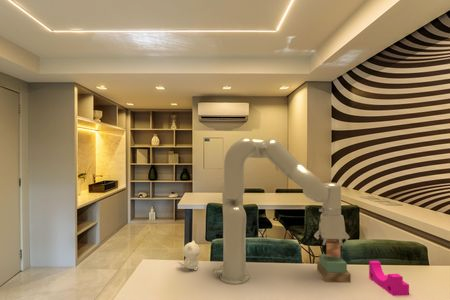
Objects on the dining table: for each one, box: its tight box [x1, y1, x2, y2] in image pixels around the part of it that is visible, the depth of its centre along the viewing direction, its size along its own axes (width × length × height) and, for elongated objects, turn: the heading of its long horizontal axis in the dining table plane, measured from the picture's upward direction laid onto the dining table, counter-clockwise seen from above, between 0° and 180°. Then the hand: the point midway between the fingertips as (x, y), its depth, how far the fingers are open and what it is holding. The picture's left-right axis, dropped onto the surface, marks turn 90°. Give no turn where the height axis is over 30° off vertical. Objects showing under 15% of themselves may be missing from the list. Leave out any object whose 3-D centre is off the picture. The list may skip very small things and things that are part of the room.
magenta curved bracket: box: [368, 260, 410, 297], centre depth 111 cm, size 15×6×8 cm, turn 4°
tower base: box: [316, 261, 351, 283], centre depth 120 cm, size 10×12×4 cm
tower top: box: [318, 253, 348, 273], centre depth 120 cm, size 8×10×4 cm
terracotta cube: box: [326, 239, 341, 257], centre depth 120 cm, size 6×6×6 cm
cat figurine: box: [176, 240, 201, 271], centre depth 128 cm, size 9×11×12 cm
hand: (331, 253), depth 120 cm, fingers closed on terracotta cube, 5 cm apart
